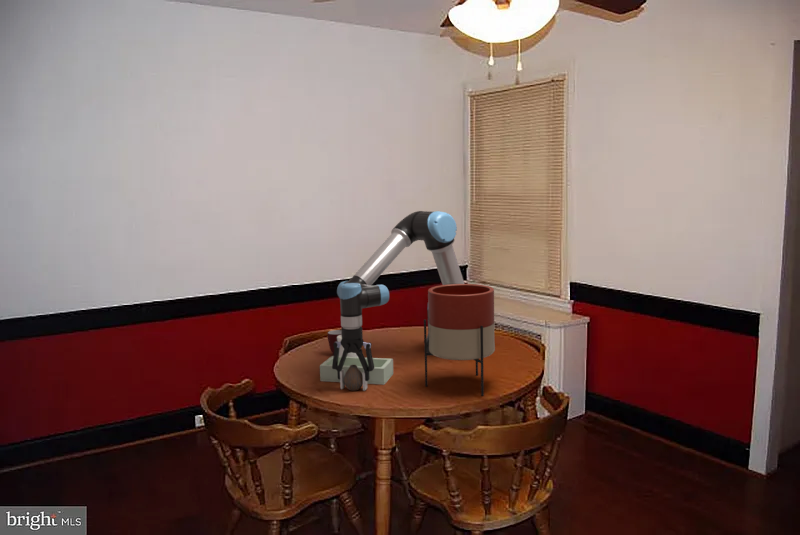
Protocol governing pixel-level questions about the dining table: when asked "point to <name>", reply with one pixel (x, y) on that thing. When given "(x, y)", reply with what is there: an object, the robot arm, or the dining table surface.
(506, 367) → the dining table surface
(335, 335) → the mug
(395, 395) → the dining table surface
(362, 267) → the robot arm
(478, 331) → the planter
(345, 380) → the vase
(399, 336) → the dining table surface
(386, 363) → the green rectangular tray
